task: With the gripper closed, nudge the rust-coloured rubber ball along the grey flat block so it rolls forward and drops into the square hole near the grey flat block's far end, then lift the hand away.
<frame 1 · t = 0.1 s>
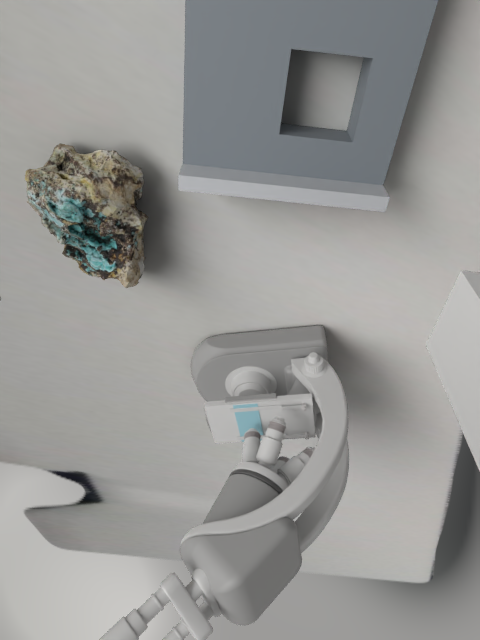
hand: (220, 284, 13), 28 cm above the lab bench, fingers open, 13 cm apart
mineral specimen: (110, 209, 42), on the lab bench
microscope: (252, 359, 53), on the lab bench
grey flat block: (305, 7, 32), on the lab bench
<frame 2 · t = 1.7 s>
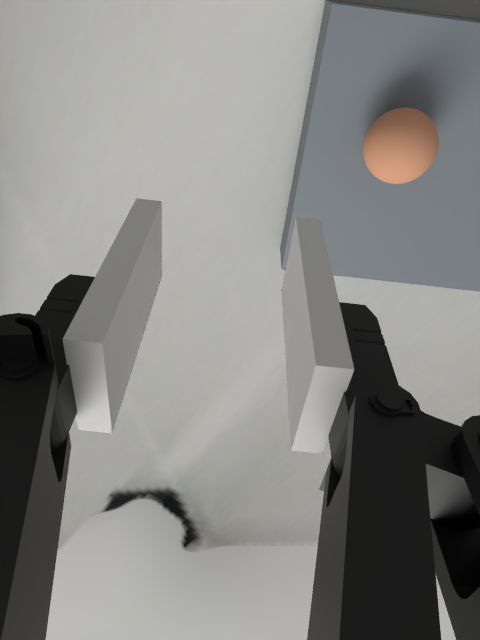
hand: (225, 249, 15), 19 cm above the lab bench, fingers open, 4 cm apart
grey flat block: (474, 165, 31), on the lab bench
ball: (399, 146, 26), point 5 cm above the lab bench, touching grey flat block
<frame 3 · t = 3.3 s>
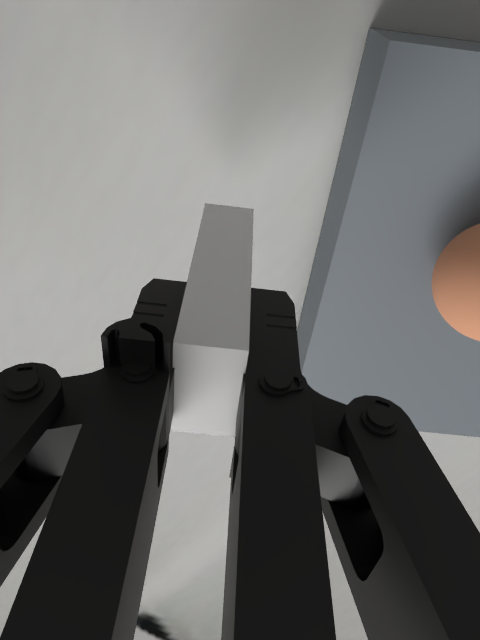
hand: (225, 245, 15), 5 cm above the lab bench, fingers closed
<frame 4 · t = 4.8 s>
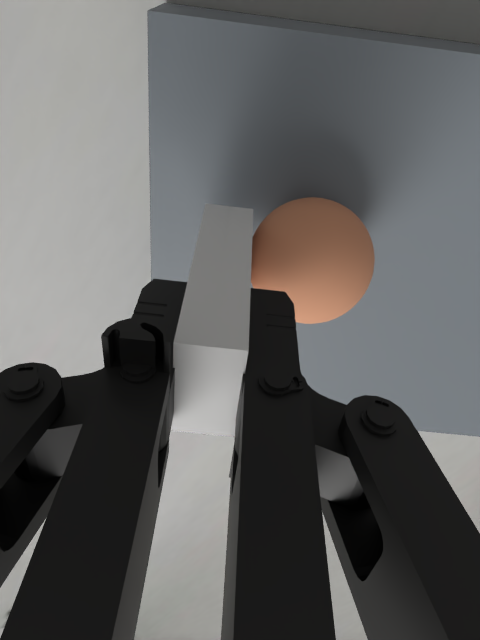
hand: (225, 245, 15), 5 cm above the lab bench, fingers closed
grey flat block: (436, 258, 20), on the lab bench
ball: (309, 261, 15), point 5 cm above the lab bench, tilted 11°, touching grey flat block
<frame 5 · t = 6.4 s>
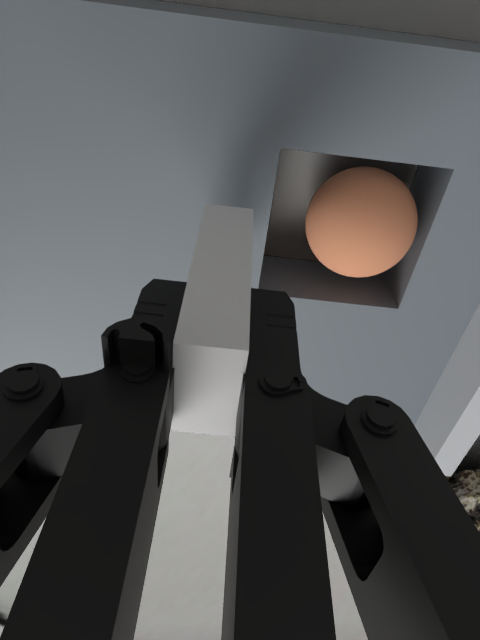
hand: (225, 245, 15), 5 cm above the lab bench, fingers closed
mineral specimen: (440, 471, 30), on the lab bench
grey flat block: (209, 233, 20), on the lab bench
ball: (359, 223, 17), point 2 cm above the lab bench, tilted 34°
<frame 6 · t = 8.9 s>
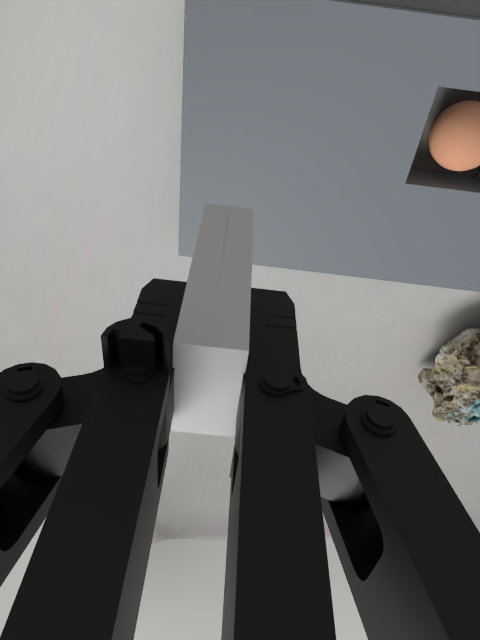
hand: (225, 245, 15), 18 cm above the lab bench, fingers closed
grey flat block: (366, 150, 31), on the lab bench
ball: (464, 136, 28), point 2 cm above the lab bench, tilted 18°
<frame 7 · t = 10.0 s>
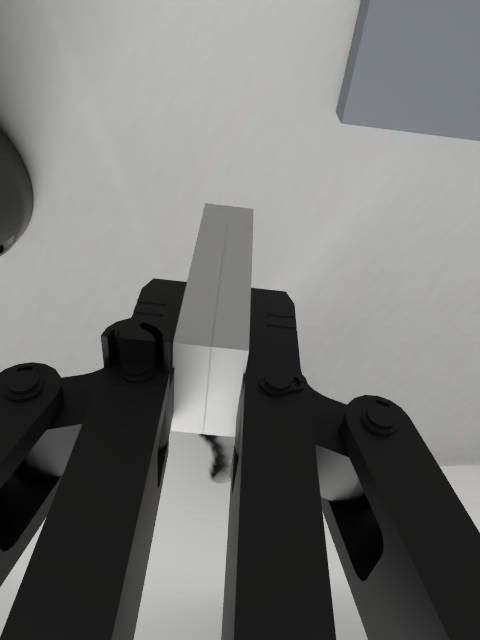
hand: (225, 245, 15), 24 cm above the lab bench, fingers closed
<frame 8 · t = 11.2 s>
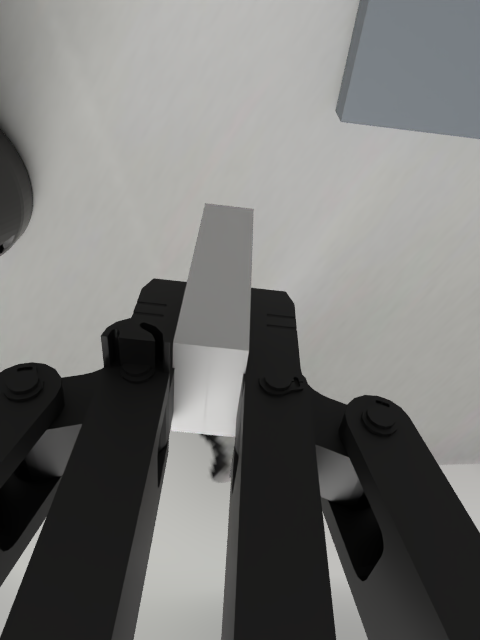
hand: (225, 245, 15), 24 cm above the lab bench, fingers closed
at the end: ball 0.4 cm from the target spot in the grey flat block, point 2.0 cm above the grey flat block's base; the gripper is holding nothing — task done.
